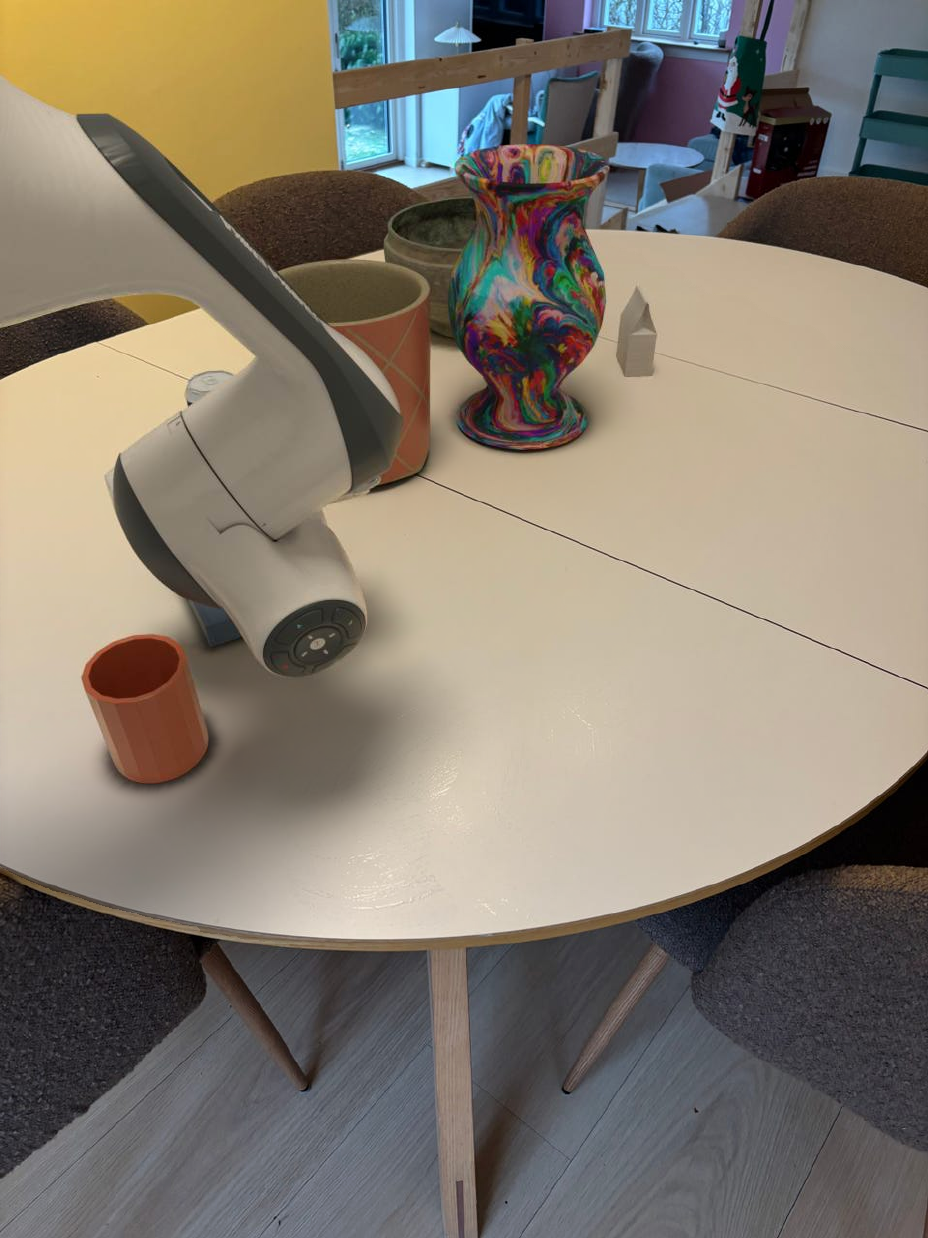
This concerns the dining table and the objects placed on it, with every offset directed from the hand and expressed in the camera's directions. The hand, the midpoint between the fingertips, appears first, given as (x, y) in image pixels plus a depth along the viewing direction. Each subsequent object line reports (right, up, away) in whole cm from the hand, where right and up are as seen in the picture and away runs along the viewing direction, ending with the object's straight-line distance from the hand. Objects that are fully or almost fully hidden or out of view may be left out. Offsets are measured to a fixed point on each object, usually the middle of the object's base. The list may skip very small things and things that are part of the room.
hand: (221, 434), depth 77 cm
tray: (0, -13, +10) cm, 17 cm away
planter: (+8, +3, +30) cm, 31 cm away
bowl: (+22, +30, +61) cm, 71 cm away
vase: (+28, +9, +36) cm, 47 cm away
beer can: (0, -6, +4) cm, 7 cm away
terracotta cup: (-3, -26, -5) cm, 27 cm away
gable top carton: (+45, +20, +48) cm, 69 cm away
